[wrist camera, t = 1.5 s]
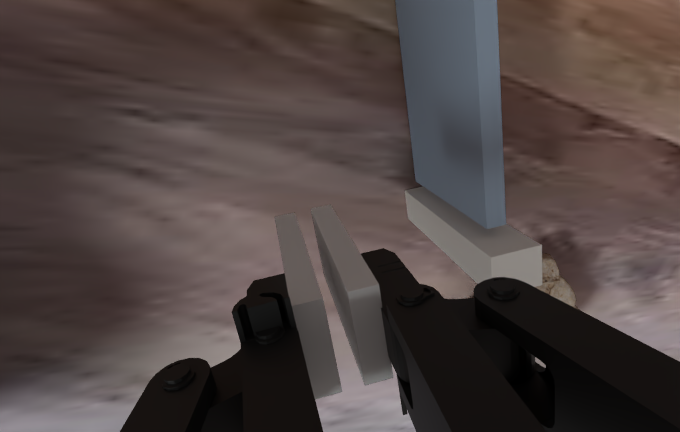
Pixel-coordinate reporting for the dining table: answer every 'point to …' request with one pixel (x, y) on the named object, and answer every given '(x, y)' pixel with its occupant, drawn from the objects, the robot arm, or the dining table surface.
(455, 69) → the door
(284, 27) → the dining table surface
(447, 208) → the pair of grey bars
